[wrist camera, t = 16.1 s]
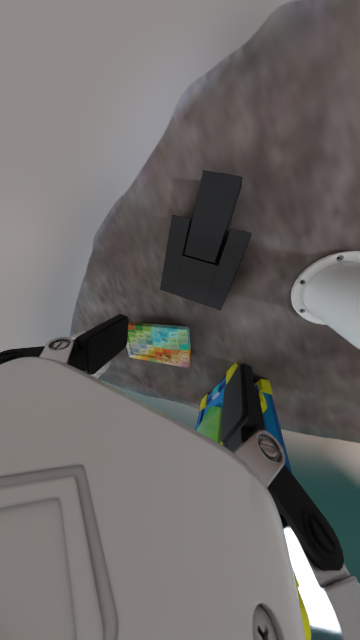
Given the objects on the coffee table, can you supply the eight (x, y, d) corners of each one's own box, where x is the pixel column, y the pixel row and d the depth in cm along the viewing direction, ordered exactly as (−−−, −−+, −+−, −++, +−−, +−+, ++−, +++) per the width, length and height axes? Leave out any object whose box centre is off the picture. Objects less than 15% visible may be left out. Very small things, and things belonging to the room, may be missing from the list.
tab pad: (207, 181, 25) (203, 170, 22) (241, 187, 24) (242, 176, 21) (189, 254, 31) (184, 254, 28) (216, 261, 30) (214, 262, 27)
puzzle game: (189, 370, 38) (127, 359, 45) (193, 358, 42) (136, 350, 49) (186, 330, 34) (117, 325, 40) (191, 322, 38) (128, 318, 44)
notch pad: (249, 235, 26) (251, 233, 23) (222, 304, 33) (220, 310, 30) (179, 219, 29) (172, 214, 26) (167, 285, 36) (159, 289, 32)
